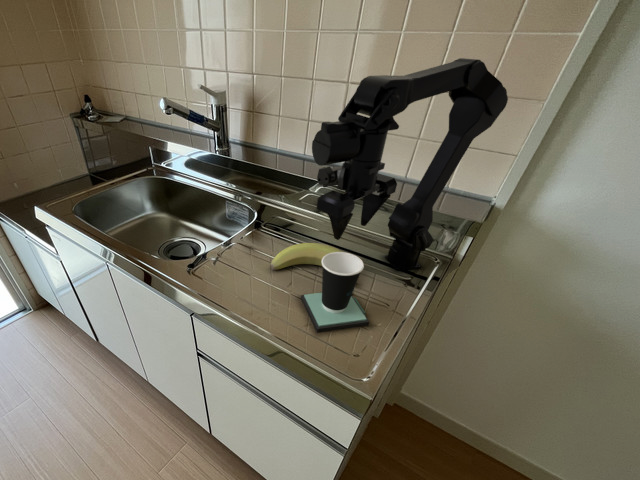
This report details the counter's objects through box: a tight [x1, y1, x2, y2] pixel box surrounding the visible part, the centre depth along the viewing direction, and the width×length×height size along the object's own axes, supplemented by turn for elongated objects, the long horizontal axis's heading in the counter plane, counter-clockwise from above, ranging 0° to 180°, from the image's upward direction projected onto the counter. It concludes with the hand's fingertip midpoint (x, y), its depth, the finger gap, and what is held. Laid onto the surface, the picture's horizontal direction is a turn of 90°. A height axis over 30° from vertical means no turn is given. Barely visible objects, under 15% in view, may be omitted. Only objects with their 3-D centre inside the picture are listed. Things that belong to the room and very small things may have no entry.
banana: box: [270, 242, 358, 286], centre depth 83 cm, size 14×6×20 cm
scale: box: [300, 291, 370, 334], centre depth 72 cm, size 12×11×2 cm
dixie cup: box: [321, 251, 365, 313], centre depth 68 cm, size 8×8×11 cm
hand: (350, 231), depth 73 cm, fingers open, 9 cm apart
